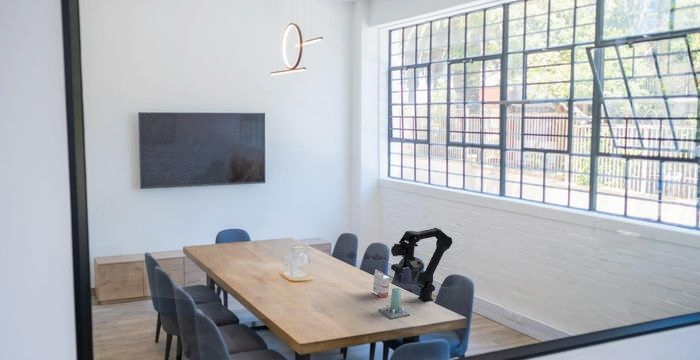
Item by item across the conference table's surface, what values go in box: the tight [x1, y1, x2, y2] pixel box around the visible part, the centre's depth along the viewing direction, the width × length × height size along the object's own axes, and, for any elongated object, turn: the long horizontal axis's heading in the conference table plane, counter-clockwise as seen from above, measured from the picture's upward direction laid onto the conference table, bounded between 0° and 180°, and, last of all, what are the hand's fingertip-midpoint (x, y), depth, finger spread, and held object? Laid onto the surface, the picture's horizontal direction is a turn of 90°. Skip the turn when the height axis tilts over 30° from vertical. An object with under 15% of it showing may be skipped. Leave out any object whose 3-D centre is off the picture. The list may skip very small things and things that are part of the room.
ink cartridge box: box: [372, 268, 390, 299], centre depth 355 cm, size 9×5×15 cm, turn 37°
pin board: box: [378, 304, 411, 320], centre depth 333 cm, size 12×12×4 cm
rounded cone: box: [389, 287, 402, 313], centre depth 332 cm, size 5×5×12 cm
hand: (406, 281), depth 345 cm, fingers open, 9 cm apart
